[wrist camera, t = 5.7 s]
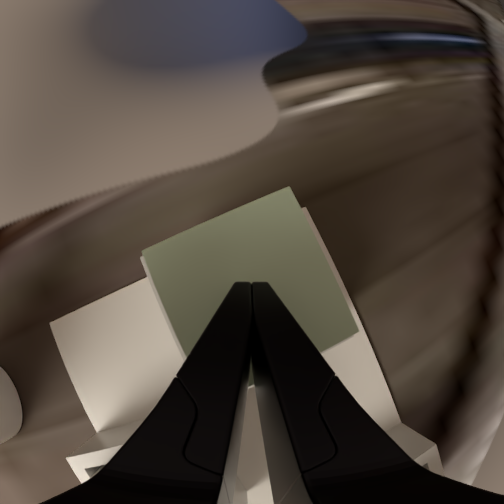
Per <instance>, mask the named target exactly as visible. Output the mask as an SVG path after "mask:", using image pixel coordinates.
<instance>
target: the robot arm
mask: <svg viewBox="0 0 504 504" xmlns="http://www.w3.org/2000/svg"><path fill="white" fill-rule="evenodd" d="M251 364H252V373H253V379H254V386H255V392H256V399H257V405H258V411H259V418H260V424H261V430H262V436H263V442H264V449H265V455H266V461H267V467H268V473H269V479H270V485H271V490H272V496H273V502H274V504H504V495H501V494H497V493H493V492H490V491H487V490H483V489H480V488H477V487H473V486H470V485H467V484H464V483H461V482H458V481H455V480H452V479H450V478H447V477H444V476H441V475H439V474H436V473H434V472H431V471H429V470H427V469H426V468H424V467H422V466H421V465H419V464H418V463H417V462H416V461H414V460H413V459H412V458H411V457H410V456H409V455H408V454H407V453H406V452H405V451H404V450H403V449H402V448H401V447H400V446H399V445H398V444H397V443H396V442H395V441H394V440H393V439H392V438H391V437H390V436H389V435H388V434H387V433H386V432H385V431H384V430H383V429H382V428H381V427H380V426H379V425H378V424H377V423H376V422H375V421H374V420H373V419H372V418H371V417H370V415H369V414H368V413H367V412H366V411H365V410H364V409H363V408H362V407H361V406H360V405H359V403H358V402H357V401H356V400H355V398H354V397H353V396H352V395H351V393H350V392H349V391H348V390H347V388H346V387H345V386H344V384H343V383H342V382H341V380H340V379H339V377H338V376H335V372H334V371H333V370H332V368H331V367H330V366H329V364H328V363H327V361H326V360H325V359H324V357H323V356H322V355H321V353H320V352H319V351H318V349H317V348H316V347H315V345H314V344H313V343H312V341H311V340H310V338H309V337H308V336H307V334H306V333H305V332H304V330H303V329H302V328H301V326H300V325H299V324H298V322H297V321H296V319H295V318H294V317H293V315H292V314H291V313H290V311H289V310H288V309H287V307H286V306H285V305H284V303H283V302H282V300H281V299H280V298H279V296H278V295H277V294H276V292H275V291H274V290H273V288H272V287H271V285H270V284H269V283H268V282H252V284H251V283H250V282H246V281H237V282H235V283H234V284H233V285H232V287H231V288H230V290H229V292H228V293H227V295H226V296H225V298H224V299H223V301H222V303H221V304H220V306H219V307H218V309H217V311H216V312H215V314H214V315H213V317H212V319H211V320H210V322H209V323H208V325H207V326H206V328H205V330H204V331H203V333H202V334H201V336H200V338H199V339H198V341H197V342H196V344H195V345H194V347H193V349H192V350H191V352H190V353H189V355H188V357H187V358H186V360H185V361H184V363H183V365H182V366H181V368H180V369H179V371H178V372H177V374H176V377H174V378H173V380H172V382H171V383H170V385H169V386H168V388H167V390H166V391H165V393H164V394H163V395H162V397H161V398H160V400H159V401H158V403H157V404H156V406H155V407H154V408H153V410H152V411H151V412H150V413H149V415H148V416H147V417H146V418H145V420H144V421H143V422H142V423H141V425H140V426H139V427H138V428H137V429H136V431H135V432H134V433H133V434H132V435H131V436H130V438H129V439H128V440H127V441H126V442H125V443H124V444H123V446H122V447H121V448H120V449H119V450H118V451H117V453H116V454H115V455H114V456H113V457H112V458H111V459H110V461H109V462H108V463H107V464H106V465H105V466H104V467H103V468H102V469H101V470H100V471H99V472H98V473H97V474H95V475H94V476H93V477H92V478H90V479H89V480H87V481H86V482H84V483H82V484H80V485H78V486H76V487H74V488H72V489H70V490H68V491H66V492H64V493H62V494H59V495H57V496H55V497H53V498H51V499H49V500H46V501H44V502H42V503H39V504H233V497H234V489H235V482H236V475H237V467H238V460H239V453H240V445H241V437H242V430H243V422H244V414H245V407H246V399H247V391H248V383H249V375H250V365H251Z"/></svg>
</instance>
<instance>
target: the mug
mask: <svg viewBox="0 0 504 504" xmlns="http://www.w3.org/2000/svg"><path fill="white" fill-rule="evenodd" d="M21 425H22V407H21V402H20V399H19V396H18V393H17V390H16V388H15V386H14V384H13V382H12V380H11V379H10V377H9V376H8V374H7V373H6V372H5V371H4V370H3V369H2V368H1V367H0V444H1V443H3V442H5V441H7V440H8V439H10V438H12V437H14V436H15V435H16V434H17V433H18V432H19V430H20V428H21Z"/></svg>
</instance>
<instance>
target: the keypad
mask: <svg viewBox="0 0 504 504" xmlns="http://www.w3.org/2000/svg"><path fill="white" fill-rule="evenodd" d="M301 209H302V211H303V213H304V215H305V217H306V219H307V221H308V223H309V225H310V227H311V229H312V231H313V233H314V235H315V237H316V239H317V241H318V243H319V245H320V247H321V249H322V251H323V253H324V255H325V257H326V259H327V262H328V264H329V266H330V268H331V270H332V272H333V274H334V276H335V278H336V281H337V283H338V285H339V287H340V289H341V291H342V293H343V296H344V298H345V300H346V302H347V304H348V307H349V309H350V311H351V313H352V315H353V318H354V320H355V322H356V324H357V327H358V329H359V332H357V333H356V334H354V335H352V336H350V337H349V338H347V339H345V340H343V341H341V342H339V343H338V344H336V345H334V346H332V347H330V348H328V349H326V350H324V351H322V352H321V355H322V356H323V357H324V359H325V360H326V361H327V363H328V364H329V366H330V367H331V368H332V370H333V371H334V372H335V376H338V377H339V379H340V380H341V382H342V383H343V384H344V386H345V387H346V388H347V390H348V391H349V392H350V393H351V395H352V396H353V397H354V398H355V400H356V401H357V402H358V403H359V405H360V406H361V407H362V408H363V409H364V410H365V411H366V412H367V413H368V414H369V415H370V417H371V418H372V419H373V420H374V421H375V422H376V423H377V424H378V425H379V426H380V427H381V428H382V429H383V430H384V431H385V432H386V433H387V434H388V435H389V436H390V437H391V438H392V439H393V440H394V441H395V442H396V443H397V444H398V445H399V446H400V447H401V448H402V449H403V450H404V451H405V452H406V453H407V454H408V455H409V456H410V457H411V458H412V459H413V460H414V461H416V462H417V463H418V464H419V465H421V466H422V467H424V468H426V469H427V470H429V471H431V472H434V473H436V474H439V475H441V476H444V477H445V475H444V471H443V467H442V463H441V460H440V456H439V452H438V449H437V445H436V444H435V443H434V442H432V441H430V440H429V439H427V438H425V437H424V436H422V435H420V434H419V433H417V432H416V431H414V430H412V429H411V428H409V427H408V426H406V425H405V424H403V423H401V420H400V418H399V415H398V412H397V410H396V407H395V404H394V402H393V399H392V396H391V394H390V391H389V389H388V386H387V384H386V381H385V379H384V376H383V374H382V371H381V369H380V366H379V364H378V361H377V359H376V357H375V354H374V352H373V349H372V347H371V345H370V342H369V340H368V338H367V335H366V333H365V331H364V328H363V326H362V324H361V321H360V319H359V317H358V315H357V312H356V310H355V308H354V306H353V303H352V301H351V299H350V297H349V295H348V292H347V290H346V288H345V286H344V284H343V282H342V280H341V277H340V275H339V273H338V271H337V269H336V267H335V265H334V263H333V261H332V258H331V256H330V254H329V252H328V250H327V248H326V246H325V244H324V242H323V240H322V238H321V236H320V234H319V232H318V230H317V228H316V226H315V224H314V222H313V220H312V218H311V216H310V214H309V212H308V210H307V208H306V207H304V208H301ZM140 259H141V261H142V264H143V267H144V269H145V272H146V274H147V277H146V278H144V279H142V280H140V281H137V282H135V283H133V284H131V285H129V286H127V287H124V288H122V289H120V290H118V291H116V292H114V293H112V294H109V295H107V296H105V297H103V298H101V299H99V300H97V301H95V302H92V303H90V304H88V305H86V306H84V307H82V308H80V309H78V310H76V311H73V312H71V313H69V314H67V315H65V316H63V317H61V318H59V319H57V320H55V321H53V322H50V323H49V324H50V327H51V329H52V332H53V335H54V338H55V341H56V343H57V346H58V349H59V351H60V354H61V357H62V359H63V362H64V364H65V366H66V369H67V371H68V374H69V376H70V378H71V381H72V383H73V385H74V387H75V390H76V392H77V394H78V396H79V398H80V400H81V402H82V404H83V406H84V408H85V411H86V413H87V415H88V416H89V418H90V420H91V422H92V424H93V426H94V428H95V430H96V432H97V433H96V434H95V435H94V436H92V437H91V438H90V439H89V440H87V441H86V442H85V443H84V444H83V445H81V446H80V447H79V448H78V449H76V450H75V451H74V452H72V453H71V454H70V455H69V456H67V457H66V459H67V461H68V463H69V464H70V466H71V468H72V469H73V471H74V472H75V474H76V476H77V477H78V479H79V480H80V482H81V483H84V482H86V481H87V480H89V479H90V478H91V477H92V476H93V474H94V473H95V472H96V471H97V470H98V469H99V468H100V467H101V466H102V465H106V464H107V463H108V462H109V461H110V459H111V458H112V457H113V456H114V455H115V454H116V453H117V451H118V450H119V449H120V448H121V447H122V446H123V444H124V443H125V442H126V441H127V440H128V439H129V438H130V436H131V435H132V434H133V433H134V432H135V431H136V429H137V428H138V427H139V426H140V425H141V423H142V422H143V421H144V420H145V418H146V417H147V416H148V415H149V413H150V412H151V411H152V410H153V408H154V407H155V406H156V404H157V403H158V401H159V400H160V398H161V397H162V395H163V394H164V393H165V391H166V390H167V388H168V386H169V385H170V383H171V382H172V380H173V378H174V377H176V374H177V372H178V371H179V369H180V368H181V366H182V365H183V363H184V361H185V360H186V356H185V354H184V351H183V349H182V347H181V345H180V343H179V341H178V338H177V336H176V334H175V332H174V330H173V327H172V325H171V323H170V321H169V318H168V316H167V314H166V311H165V309H164V307H163V304H162V302H161V299H160V297H159V295H158V292H157V290H156V287H155V285H154V282H153V280H152V277H151V275H150V272H149V270H148V267H147V265H146V262H145V259H144V257H143V256H142V257H140ZM233 504H274V502H273V496H272V490H271V485H270V479H269V473H268V467H267V461H266V455H265V449H264V442H263V436H262V430H261V424H260V418H259V411H258V405H257V399H256V392H255V386H254V385H252V386H249V387H248V391H247V399H246V407H245V414H244V422H243V430H242V437H241V445H240V453H239V460H238V467H237V475H236V482H235V489H234V497H233Z"/></svg>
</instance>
